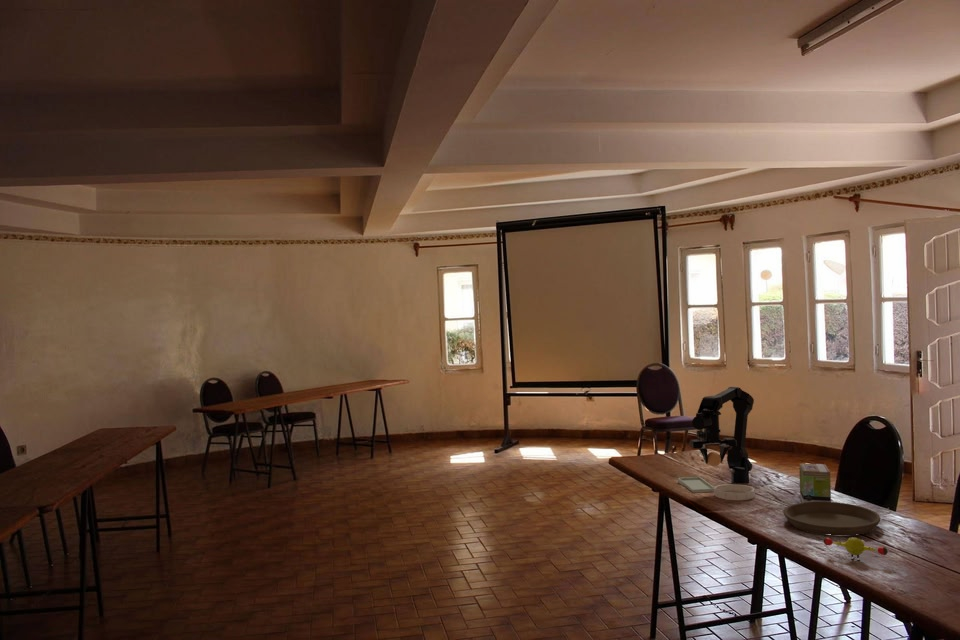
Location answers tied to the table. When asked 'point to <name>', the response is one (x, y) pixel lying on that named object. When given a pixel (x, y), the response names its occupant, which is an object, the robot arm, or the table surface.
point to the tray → (696, 484)
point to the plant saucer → (831, 518)
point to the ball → (713, 459)
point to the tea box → (815, 483)
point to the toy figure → (855, 546)
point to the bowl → (734, 492)
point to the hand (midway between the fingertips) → (713, 463)
